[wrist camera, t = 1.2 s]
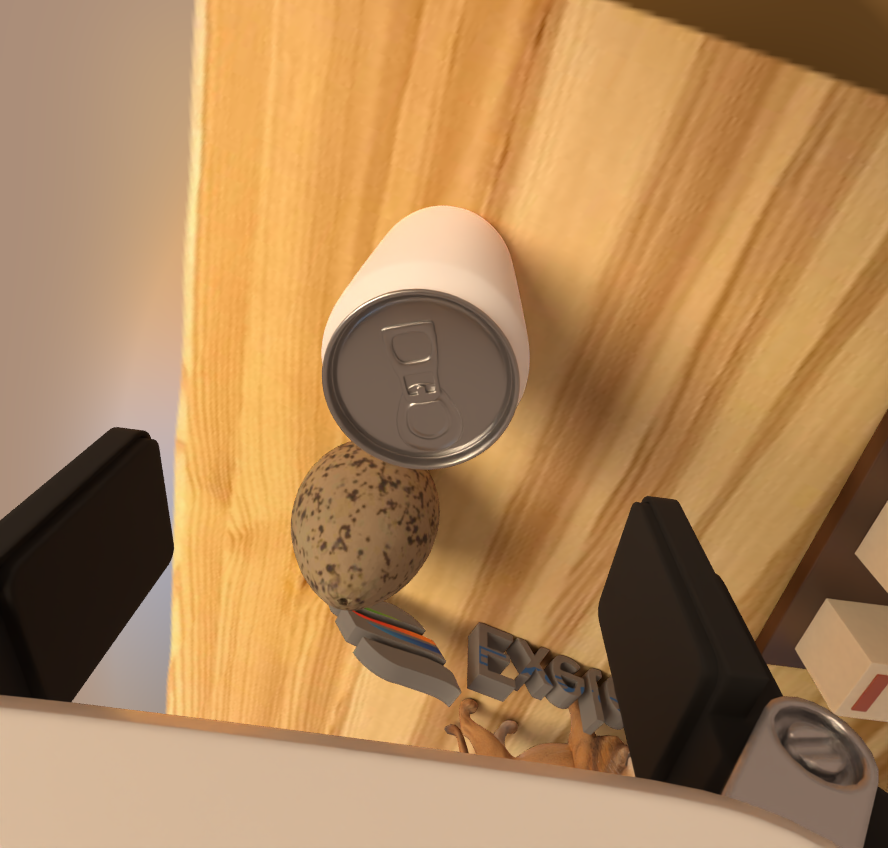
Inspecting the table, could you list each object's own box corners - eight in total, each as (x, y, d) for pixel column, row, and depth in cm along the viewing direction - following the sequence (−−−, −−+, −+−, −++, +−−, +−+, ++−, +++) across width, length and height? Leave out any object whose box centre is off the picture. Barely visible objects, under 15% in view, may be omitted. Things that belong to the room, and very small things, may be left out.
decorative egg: (380, 535, 34) (347, 681, 26) (291, 460, 32) (221, 591, 23) (470, 473, 32) (466, 611, 23) (380, 385, 29) (338, 502, 21)
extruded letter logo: (329, 580, 36) (306, 654, 31) (338, 564, 36) (315, 637, 31) (650, 707, 41) (674, 790, 36) (664, 696, 40) (690, 778, 35)
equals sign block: (825, 597, 33) (873, 664, 29) (901, 607, 33) (958, 675, 29) (794, 648, 36) (834, 717, 32) (864, 657, 36) (913, 727, 32)
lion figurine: (634, 665, 39) (673, 807, 31) (648, 712, 41) (687, 855, 33) (434, 701, 42) (423, 838, 34) (457, 743, 44) (452, 880, 36)
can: (393, 351, 28) (341, 493, 18) (359, 218, 25) (274, 295, 15) (521, 330, 27) (546, 468, 17) (503, 190, 24) (520, 251, 14)
